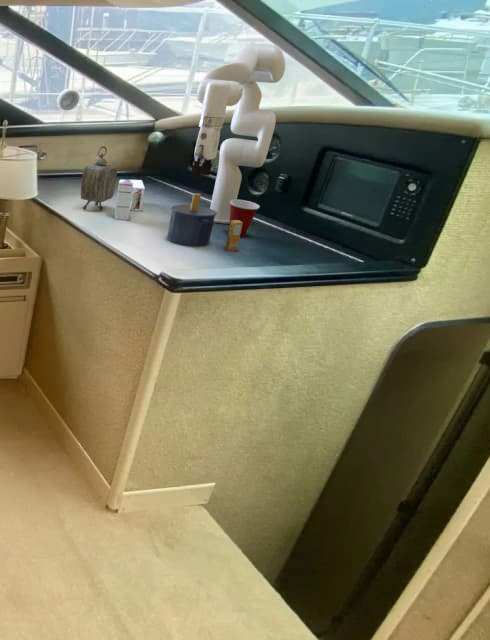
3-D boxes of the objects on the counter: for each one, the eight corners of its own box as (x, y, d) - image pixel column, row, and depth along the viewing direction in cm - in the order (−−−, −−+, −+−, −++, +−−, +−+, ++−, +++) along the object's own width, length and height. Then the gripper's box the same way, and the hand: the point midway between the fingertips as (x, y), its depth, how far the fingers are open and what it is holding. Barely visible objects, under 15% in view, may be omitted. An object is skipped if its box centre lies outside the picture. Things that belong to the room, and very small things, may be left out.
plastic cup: (238, 239, 222) (246, 207, 216) (216, 232, 230) (223, 200, 224) (258, 237, 226) (266, 205, 221) (236, 230, 235) (244, 198, 229)
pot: (194, 233, 227) (200, 205, 222) (219, 248, 210) (226, 218, 205) (158, 232, 225) (163, 204, 220) (180, 248, 207) (186, 218, 202)
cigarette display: (126, 200, 272) (129, 179, 267) (138, 201, 271) (141, 180, 267) (128, 210, 254) (131, 187, 250) (141, 211, 254) (145, 189, 249)
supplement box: (223, 248, 211) (230, 219, 206) (233, 248, 211) (240, 220, 207) (227, 251, 208) (234, 222, 203) (237, 251, 208) (244, 222, 204)
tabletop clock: (94, 204, 262) (102, 143, 250) (113, 208, 257) (121, 146, 245) (78, 209, 251) (85, 146, 239) (97, 213, 247) (105, 149, 235)
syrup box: (128, 220, 240) (134, 182, 233) (113, 218, 240) (118, 181, 234) (128, 217, 245) (134, 180, 238) (114, 215, 245) (119, 178, 238)
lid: (203, 208, 221) (207, 189, 217) (224, 218, 207) (228, 199, 204) (163, 207, 218) (167, 189, 215) (182, 218, 205) (185, 198, 201)
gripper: (213, 125, 190) (202, 180, 198) (230, 122, 203) (218, 175, 211) (190, 122, 194) (180, 177, 202) (208, 120, 207) (198, 172, 215)
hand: (200, 176), depth 206 cm, fingers open, 9 cm apart
